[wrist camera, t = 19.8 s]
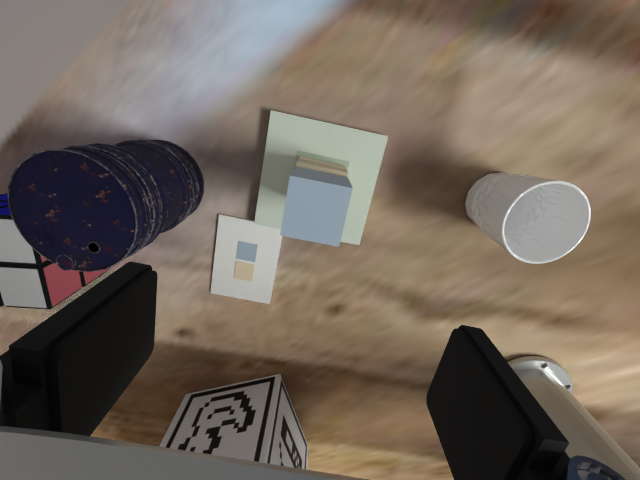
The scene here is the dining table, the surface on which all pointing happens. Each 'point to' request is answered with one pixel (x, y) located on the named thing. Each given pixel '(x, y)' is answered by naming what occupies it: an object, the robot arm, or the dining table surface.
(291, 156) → the board
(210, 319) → the dining table surface
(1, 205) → the puzzle cube
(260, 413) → the block
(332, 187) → the slate block
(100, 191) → the storage jar
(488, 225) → the white cup
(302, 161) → the maple block
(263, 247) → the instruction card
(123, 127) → the dining table surface
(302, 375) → the dining table surface
